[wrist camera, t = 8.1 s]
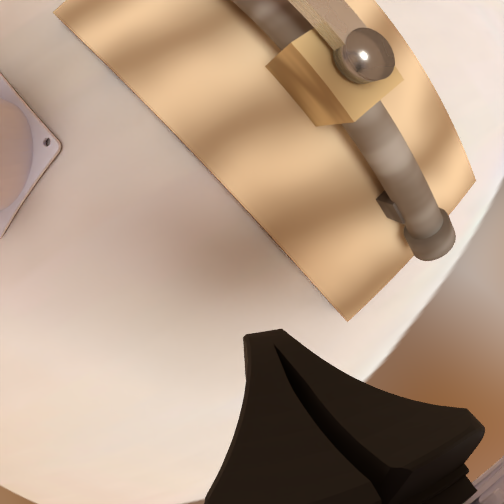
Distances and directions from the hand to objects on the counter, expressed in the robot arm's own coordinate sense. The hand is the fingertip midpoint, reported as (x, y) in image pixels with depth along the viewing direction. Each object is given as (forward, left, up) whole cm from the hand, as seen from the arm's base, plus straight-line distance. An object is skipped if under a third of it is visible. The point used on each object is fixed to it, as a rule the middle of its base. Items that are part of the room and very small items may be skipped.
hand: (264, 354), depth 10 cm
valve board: (-5, +11, -9) cm, 15 cm away
